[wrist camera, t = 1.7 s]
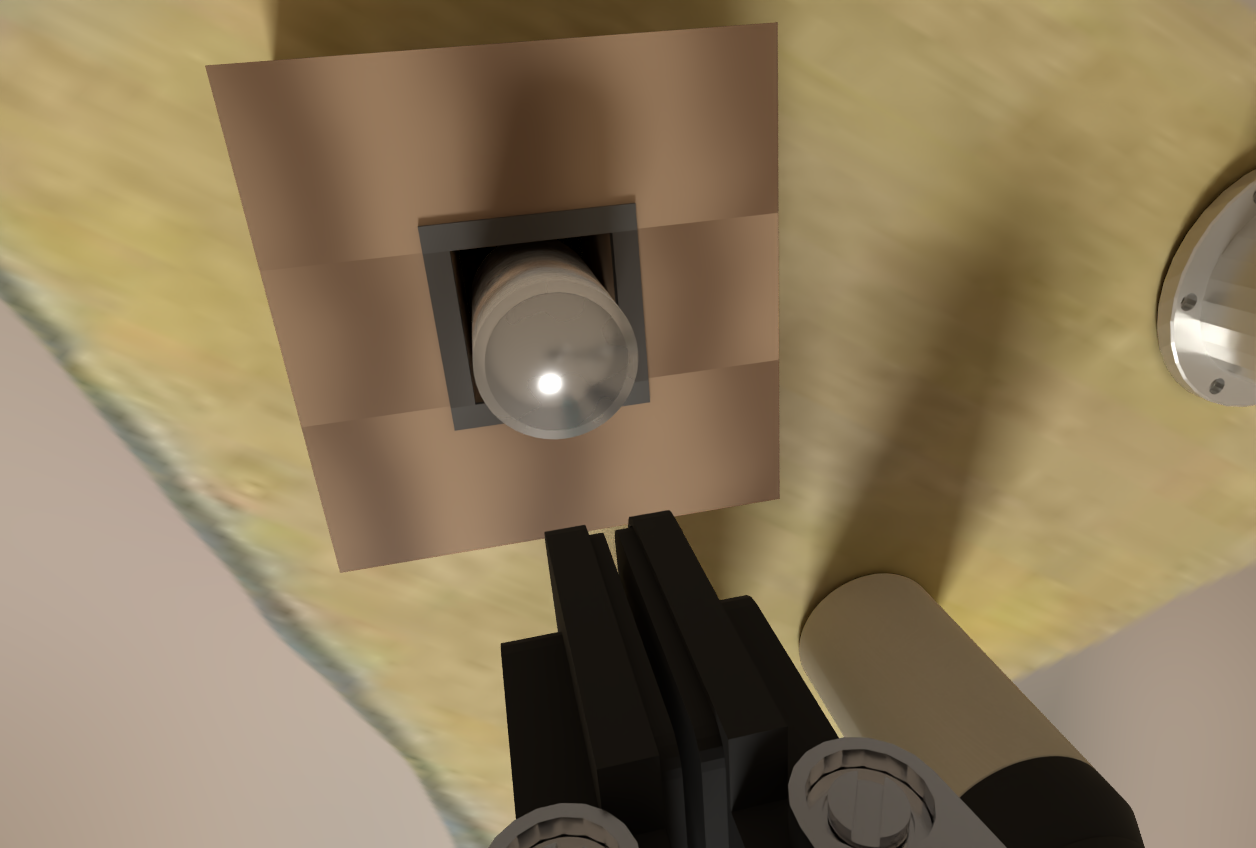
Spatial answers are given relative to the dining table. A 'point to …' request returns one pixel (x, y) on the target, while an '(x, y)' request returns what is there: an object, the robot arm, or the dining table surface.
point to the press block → (508, 214)
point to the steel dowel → (548, 341)
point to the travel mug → (956, 716)
